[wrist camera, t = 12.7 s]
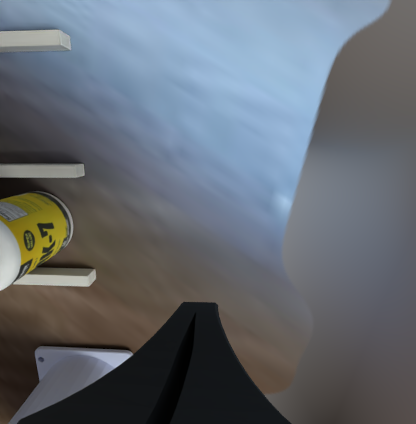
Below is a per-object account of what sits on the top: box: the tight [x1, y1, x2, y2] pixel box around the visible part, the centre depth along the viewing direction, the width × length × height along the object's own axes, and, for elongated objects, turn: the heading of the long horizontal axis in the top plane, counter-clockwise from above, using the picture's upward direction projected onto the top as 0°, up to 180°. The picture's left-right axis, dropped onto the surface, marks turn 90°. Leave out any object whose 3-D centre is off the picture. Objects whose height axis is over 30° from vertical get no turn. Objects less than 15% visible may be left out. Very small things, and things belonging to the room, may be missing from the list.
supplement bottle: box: [0, 191, 73, 291], centre depth 18 cm, size 5×5×8 cm
